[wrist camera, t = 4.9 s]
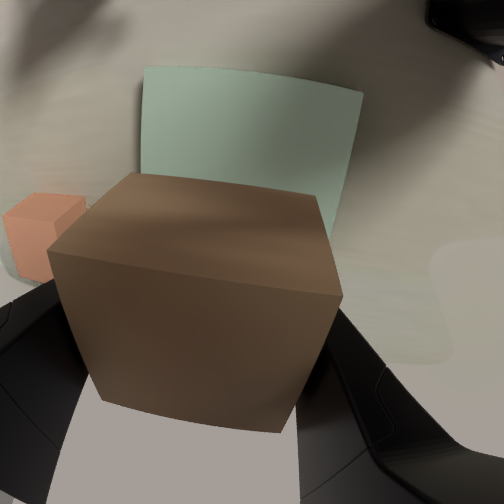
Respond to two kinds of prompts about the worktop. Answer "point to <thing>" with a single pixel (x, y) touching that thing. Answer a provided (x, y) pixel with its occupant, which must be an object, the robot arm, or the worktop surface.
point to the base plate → (250, 130)
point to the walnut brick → (199, 297)
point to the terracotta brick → (39, 230)
